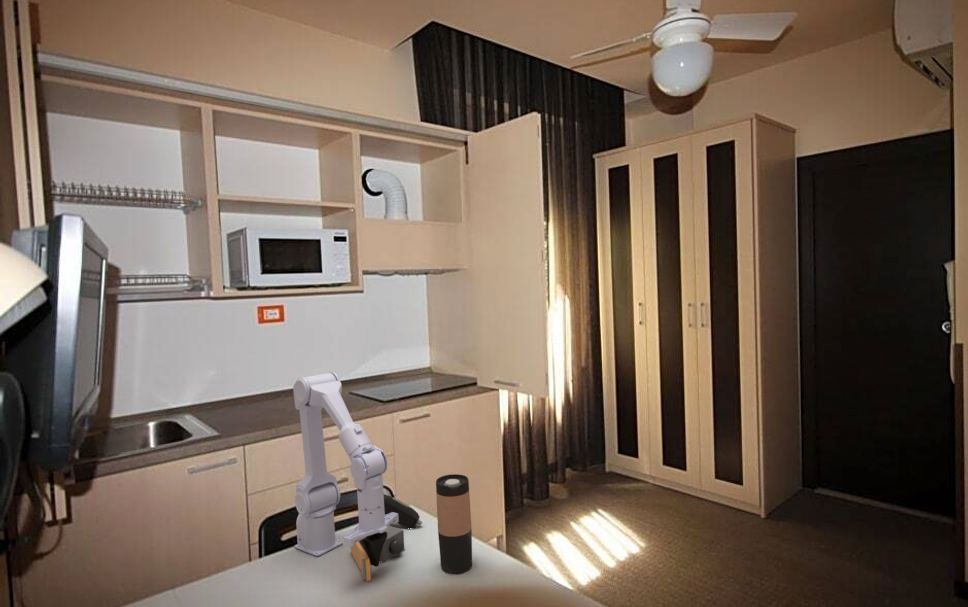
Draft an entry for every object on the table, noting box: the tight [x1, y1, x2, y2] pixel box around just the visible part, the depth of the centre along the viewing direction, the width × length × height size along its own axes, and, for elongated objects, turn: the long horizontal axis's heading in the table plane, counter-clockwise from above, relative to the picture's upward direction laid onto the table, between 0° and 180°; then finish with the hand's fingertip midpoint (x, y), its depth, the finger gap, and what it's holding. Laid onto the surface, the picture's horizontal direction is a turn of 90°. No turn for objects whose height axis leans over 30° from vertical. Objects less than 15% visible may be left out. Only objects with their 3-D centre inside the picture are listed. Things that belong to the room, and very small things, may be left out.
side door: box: [350, 541, 372, 582], centre depth 125 cm, size 15×1×5 cm, turn 27°
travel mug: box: [435, 473, 473, 575], centre depth 123 cm, size 8×8×20 cm
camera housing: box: [359, 525, 405, 563], centre depth 132 cm, size 12×7×6 cm, turn 54°
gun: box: [384, 494, 423, 530], centre depth 146 cm, size 3×16×10 cm, turn 79°
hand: (374, 565), depth 121 cm, fingers closed
